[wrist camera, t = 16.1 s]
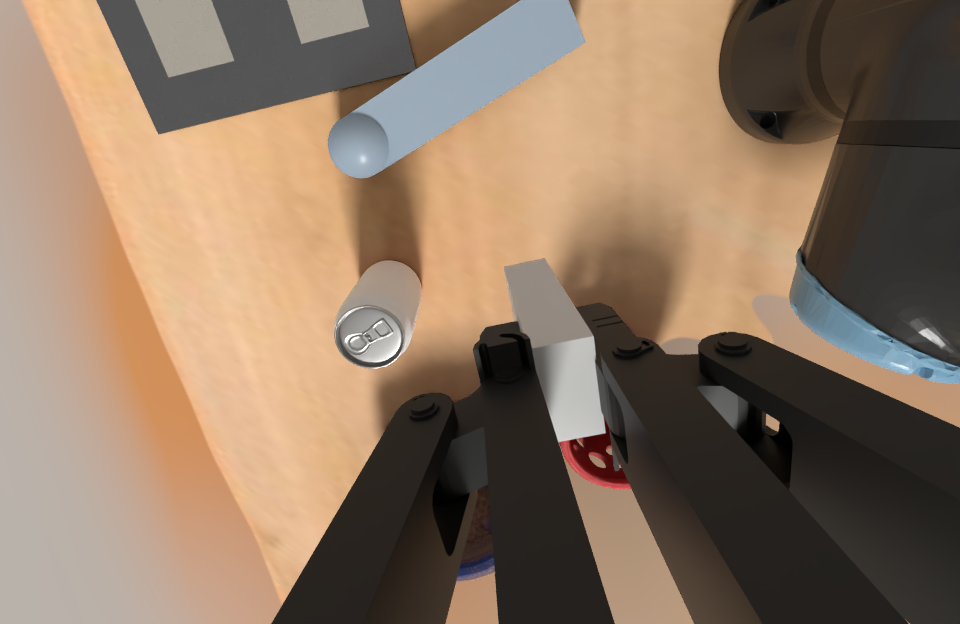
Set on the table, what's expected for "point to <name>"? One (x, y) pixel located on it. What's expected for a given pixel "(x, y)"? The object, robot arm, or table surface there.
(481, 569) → the bowl
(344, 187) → the table surface
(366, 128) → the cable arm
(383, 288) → the can
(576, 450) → the plant pot
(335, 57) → the label panel
